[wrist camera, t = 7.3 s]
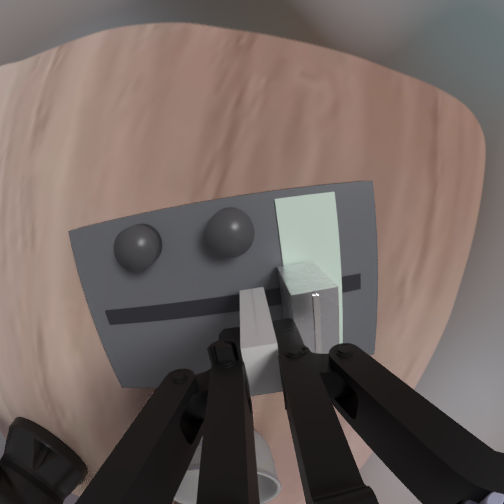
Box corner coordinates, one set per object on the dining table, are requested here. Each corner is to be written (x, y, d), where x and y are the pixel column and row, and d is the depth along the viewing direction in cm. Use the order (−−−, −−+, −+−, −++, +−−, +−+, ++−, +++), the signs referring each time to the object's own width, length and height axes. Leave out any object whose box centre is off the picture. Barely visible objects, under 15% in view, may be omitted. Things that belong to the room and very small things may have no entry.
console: (128, 374, 22) (115, 400, 18) (81, 227, 19) (54, 235, 15) (365, 342, 22) (383, 365, 19) (360, 181, 19) (384, 180, 15)
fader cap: (284, 325, 19) (298, 368, 14) (276, 266, 18) (291, 296, 13) (316, 319, 19) (339, 359, 14) (312, 260, 18) (339, 287, 13)
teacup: (201, 389, 23) (191, 456, 15) (293, 426, 24) (306, 485, 17) (149, 449, 25) (136, 499, 17) (226, 477, 27) (225, 524, 19)
